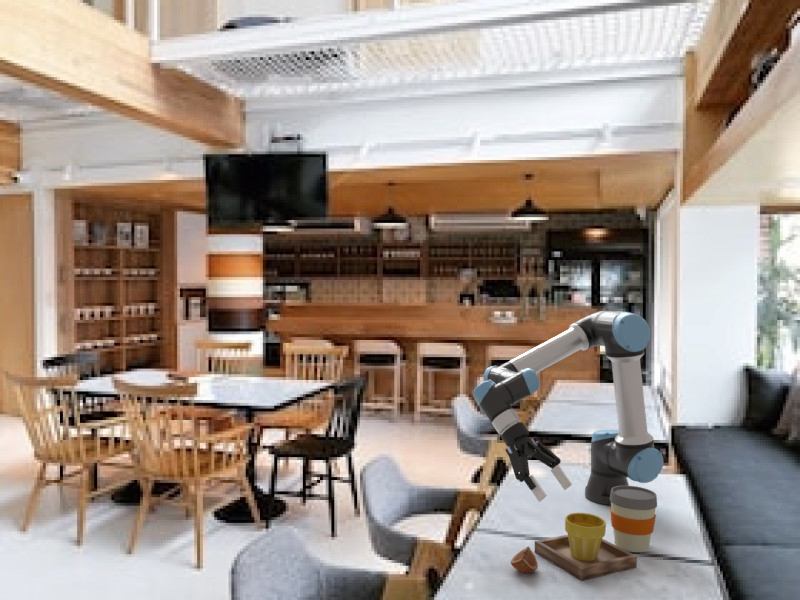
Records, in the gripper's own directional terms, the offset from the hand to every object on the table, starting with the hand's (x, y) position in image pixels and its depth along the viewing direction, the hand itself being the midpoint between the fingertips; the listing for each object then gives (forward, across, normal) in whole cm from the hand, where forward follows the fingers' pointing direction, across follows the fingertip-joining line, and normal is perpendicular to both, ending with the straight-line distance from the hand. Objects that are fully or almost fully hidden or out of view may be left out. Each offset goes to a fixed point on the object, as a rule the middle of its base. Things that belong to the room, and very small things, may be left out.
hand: (556, 493), depth 179 cm
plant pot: (+17, 0, -4) cm, 17 cm away
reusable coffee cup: (+21, -18, -2) cm, 28 cm away
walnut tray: (+17, 0, -5) cm, 18 cm away
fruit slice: (+12, +18, -10) cm, 24 cm away
